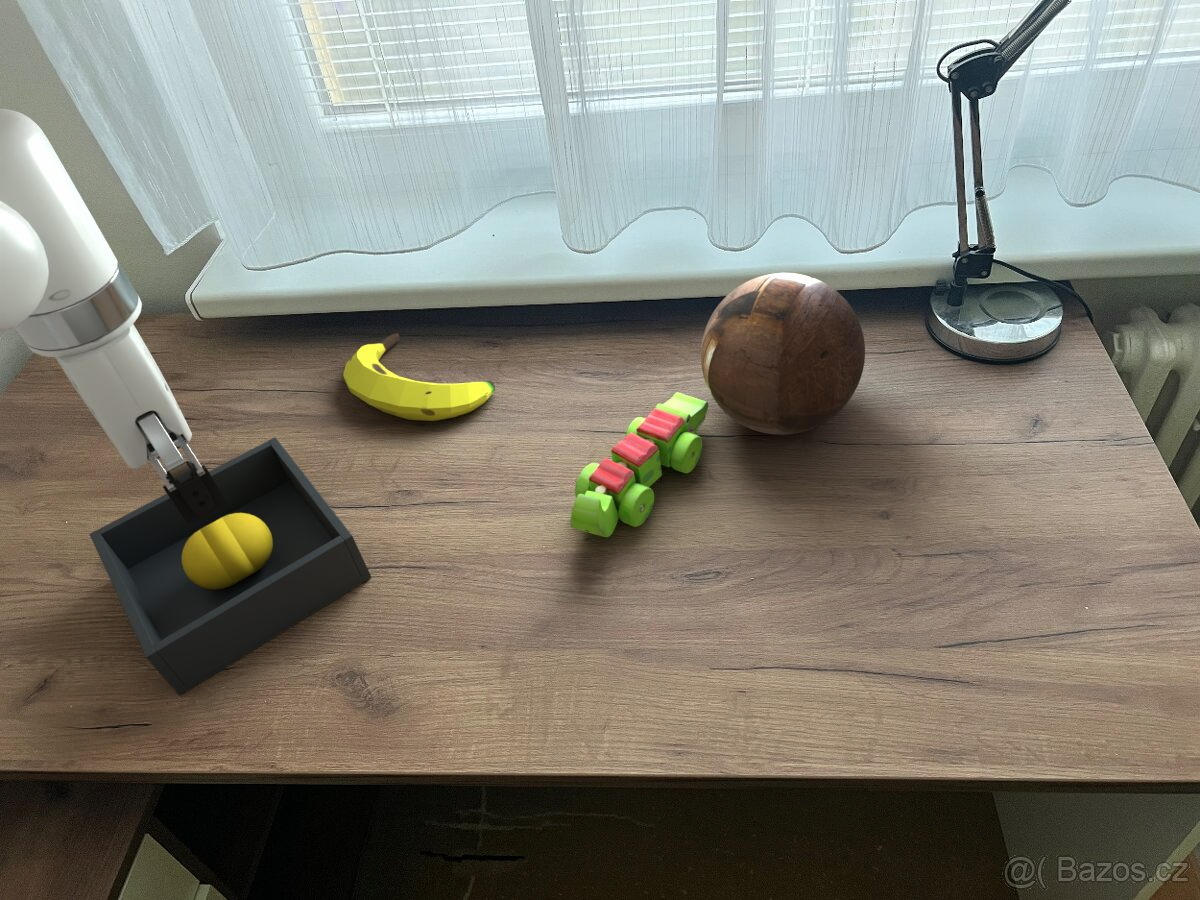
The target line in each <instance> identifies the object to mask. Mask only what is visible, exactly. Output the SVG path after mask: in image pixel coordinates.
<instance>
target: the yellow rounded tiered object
mask: <svg viewBox="0 0 1200 900" xmlns="http://www.w3.org/2000/svg"><path fill="white" fill-rule="evenodd" d="M272 547H273V539H272V535H271V532H270V530H269V528H268V527H267V525H266V524H265V523H264V522H263V521H262V520H261V519H259V518H257V517H255V516H253V515H250V514H246V513H234V514H229V515H226V516H224V517H222V518H220V519H218V520H216V521H214V522H213V523H211V524H209V525H207V526H205V527H203V528H202V529H200V530H198V531H197V532H195V533H194V534H193V535H192V536H191V537H190V538H189V539H188V541H187V542H186V544H185V546H184V548H183V552H182V565H183V569H184V571H185V573H186V575H187V576H188V577H189V579H190V580H191V581H193V582H194V583H195V584H197V585H199V586H201V587H203V588H207V589H214V590H215V589H223V588H227V587H230V586H232V585H234V584H236V583H237V582H239V581H241V580H243V579H244V578H246V577H248V576H250V575H251V574H253V573H255V572H256V571H258V570H259V569H261V568H262V567H263V566H264V565H265V564H266V562H267V561H268V559H269V557H270V555H271V552H272Z"/></svg>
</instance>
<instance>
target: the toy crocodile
mask: <svg viewBox="0 0 1200 900" xmlns="http://www.w3.org/2000/svg"><path fill="white" fill-rule="evenodd" d="M708 409H709V401H706V400H703V399H699V398H696V397H693V396H691V395H687V394H684V393H681V392H679V391H678V392H675V393H674V394H673V396H672V397H671V398H670V399H669V400H668V399H667V401H665V402H663V404H662V403H657V404H656V406H655V408H653V410H652V411H651V412H650V413H649V414H648V415H647V416H646V417H645V418H644V417H641V416H638V417H635V418H634V419H633V420H632V421H631V423H630V424H629V426H628V428H627V430H626V434H625V436H624V438H622V439H621V440H620V441H619V442H618V443H617V444H615V445H614V446H613V447H612V449H610V451H611V452H610V453H611V454H610V455H611V459H608V458H607V457H604V458H602V460H601V461H600V463H597V462H591V463H588V464H587V465H586V466H585V467H584V468H583V469H582V470H581V472H580V473H579V475H578V478H577V480H576V483H575V488H574V495H575V497H576V498H575V501H574V503H573V505H572V510H571V514H570V527H571V529H575V530H577V531H578V530H579V531H582V532H586V533H589V534H591V535H596V536H599V537H604V538H609V537H610V536H612V534H613V532H614V531H615V529H616V526H617V524H618V522H619V520H620V521H621V522H623V523H624V524H627V525H629V526H631V527H634V528H637V527H640V526H641V525H643V524H644V523H645V522H646V520H647V519H648V518H649V516H650V514H651V512H652V510H653V508H654V504H655V492H654V490H653V489H652V488H650V487H651V486H652V485H653V484H654V483H655V482H656V481H658V480H659V479H660V478H661V477H662V475H663V472H662V471H663V470H662V466H664V467H666V468H670V467H671V468H672V469H673V470H675V471H677V472H680V473H682V474H689V473H691V472H692V471H693V470H694V469H695V467H696V466H697V465H698V462H699V460H700V458H701V455H702V452H703V439H702V438H701V436H699V435H698V434H696V433H697V431H698V430H699V428H700V427H701V426H702V425H703V424H704V422H705V420H706V416H707V412H708Z"/></svg>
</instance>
